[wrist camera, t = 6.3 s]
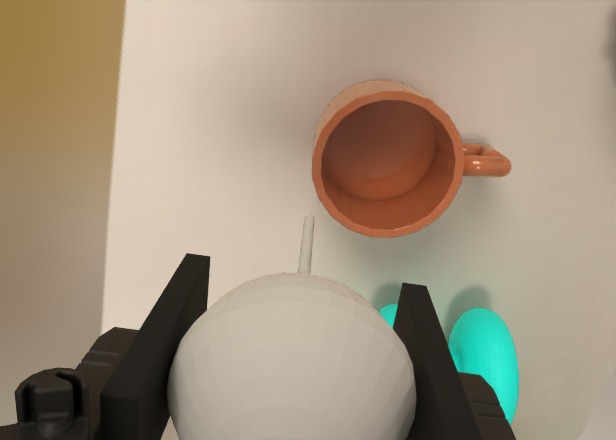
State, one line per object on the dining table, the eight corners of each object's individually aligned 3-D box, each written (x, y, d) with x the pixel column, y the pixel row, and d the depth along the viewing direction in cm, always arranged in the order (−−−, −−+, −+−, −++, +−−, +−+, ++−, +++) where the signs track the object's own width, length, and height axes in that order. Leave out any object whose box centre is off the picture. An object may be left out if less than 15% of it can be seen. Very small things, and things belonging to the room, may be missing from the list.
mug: (312, 201, 41) (310, 234, 35) (316, 77, 38) (314, 88, 31) (476, 207, 41) (505, 242, 34) (496, 83, 37) (532, 95, 31)
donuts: (374, 281, 44) (387, 350, 34) (491, 286, 43) (536, 357, 34) (366, 376, 47) (375, 462, 38) (473, 381, 47) (510, 469, 38)
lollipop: (253, 276, 25) (158, 589, 11) (236, 162, 23) (96, 374, 9) (377, 269, 25) (438, 584, 11) (372, 152, 23) (440, 358, 9)
